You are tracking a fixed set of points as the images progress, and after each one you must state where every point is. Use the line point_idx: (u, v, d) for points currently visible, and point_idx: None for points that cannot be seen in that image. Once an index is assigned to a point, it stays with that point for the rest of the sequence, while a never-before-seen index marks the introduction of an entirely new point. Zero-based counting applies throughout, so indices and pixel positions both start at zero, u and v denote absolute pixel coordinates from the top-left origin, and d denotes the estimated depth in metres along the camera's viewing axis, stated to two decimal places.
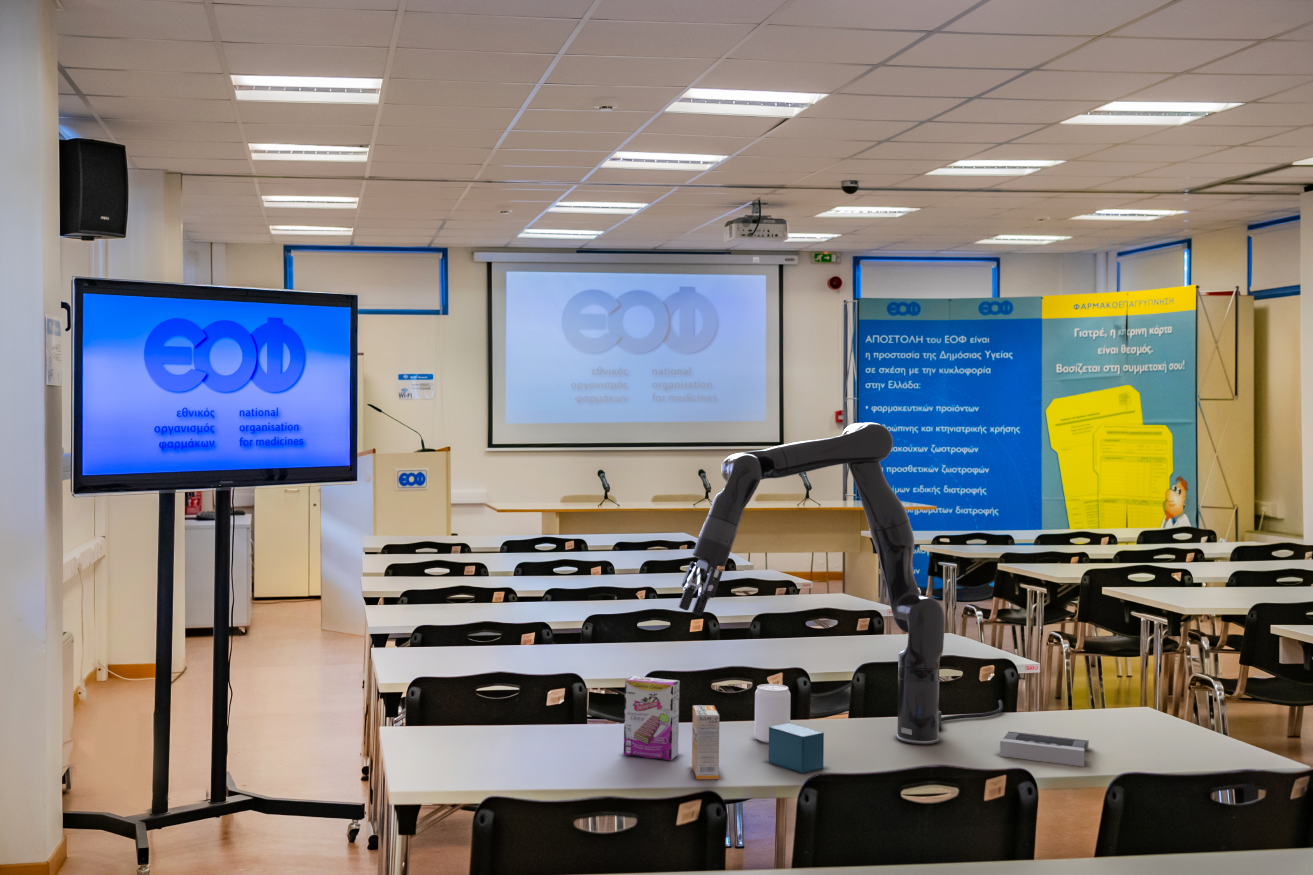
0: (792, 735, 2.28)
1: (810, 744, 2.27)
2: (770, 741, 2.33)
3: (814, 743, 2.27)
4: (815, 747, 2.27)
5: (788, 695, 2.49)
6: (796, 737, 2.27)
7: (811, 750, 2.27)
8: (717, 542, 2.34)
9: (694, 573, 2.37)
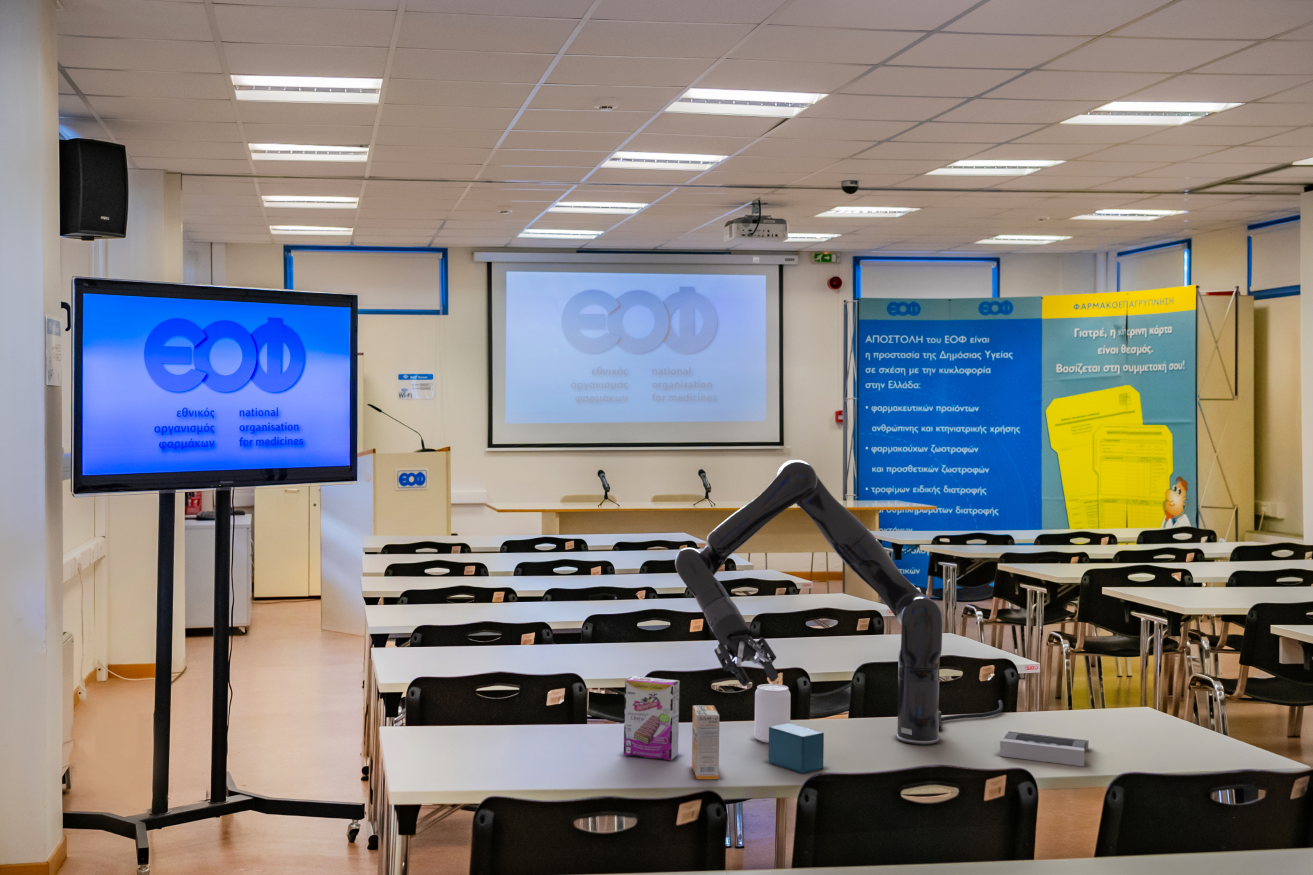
0: (792, 735, 2.28)
1: (810, 744, 2.27)
2: (770, 741, 2.33)
3: (814, 743, 2.27)
4: (815, 747, 2.27)
5: (788, 695, 2.49)
6: (796, 737, 2.27)
7: (811, 750, 2.27)
8: (713, 627, 2.46)
9: None
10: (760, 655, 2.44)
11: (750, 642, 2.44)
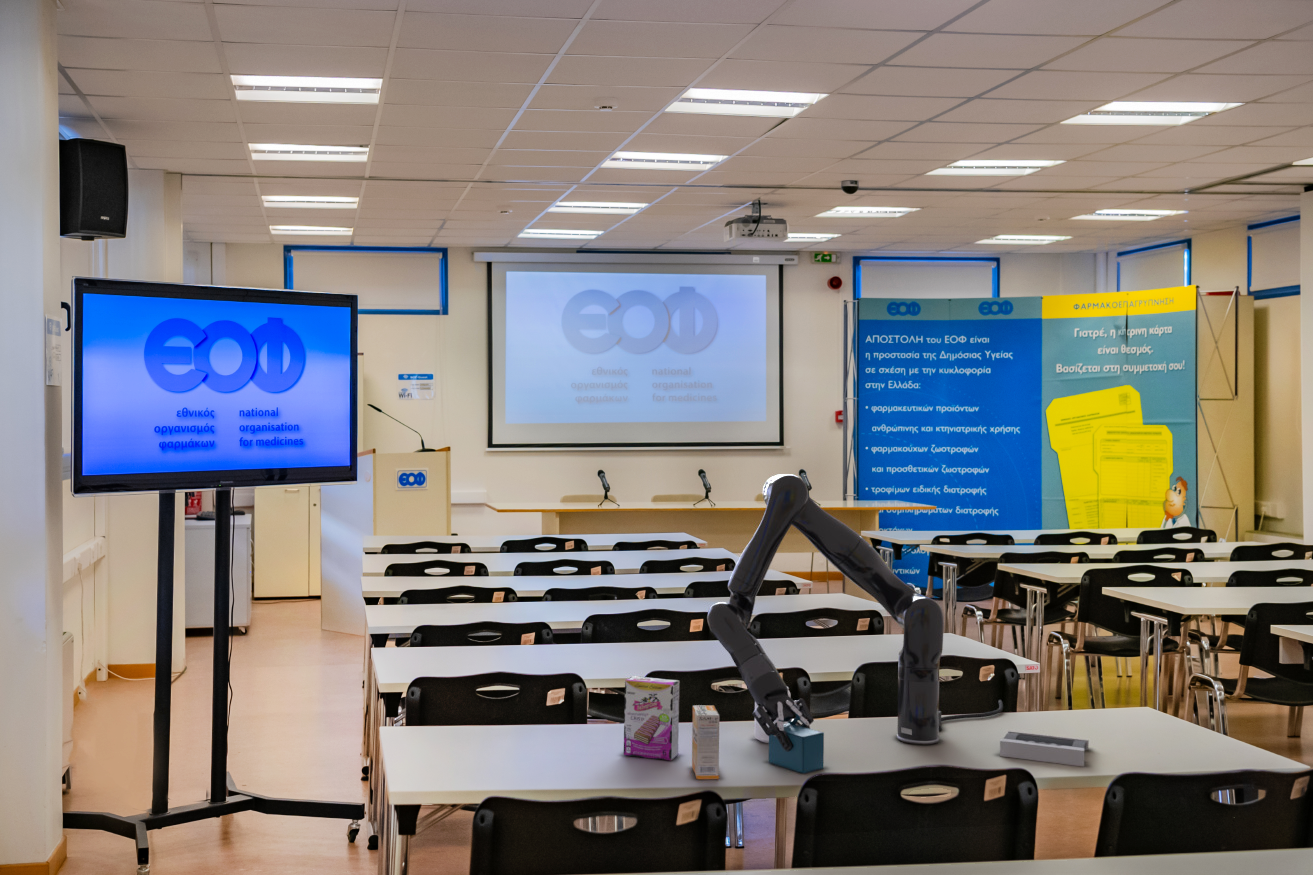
0: (792, 735, 2.28)
1: (810, 744, 2.27)
2: (770, 741, 2.33)
3: (814, 743, 2.27)
4: (815, 747, 2.27)
5: (788, 695, 2.49)
6: (796, 737, 2.27)
7: (811, 750, 2.27)
8: (749, 686, 2.37)
9: None
10: (797, 717, 2.34)
11: (788, 702, 2.35)
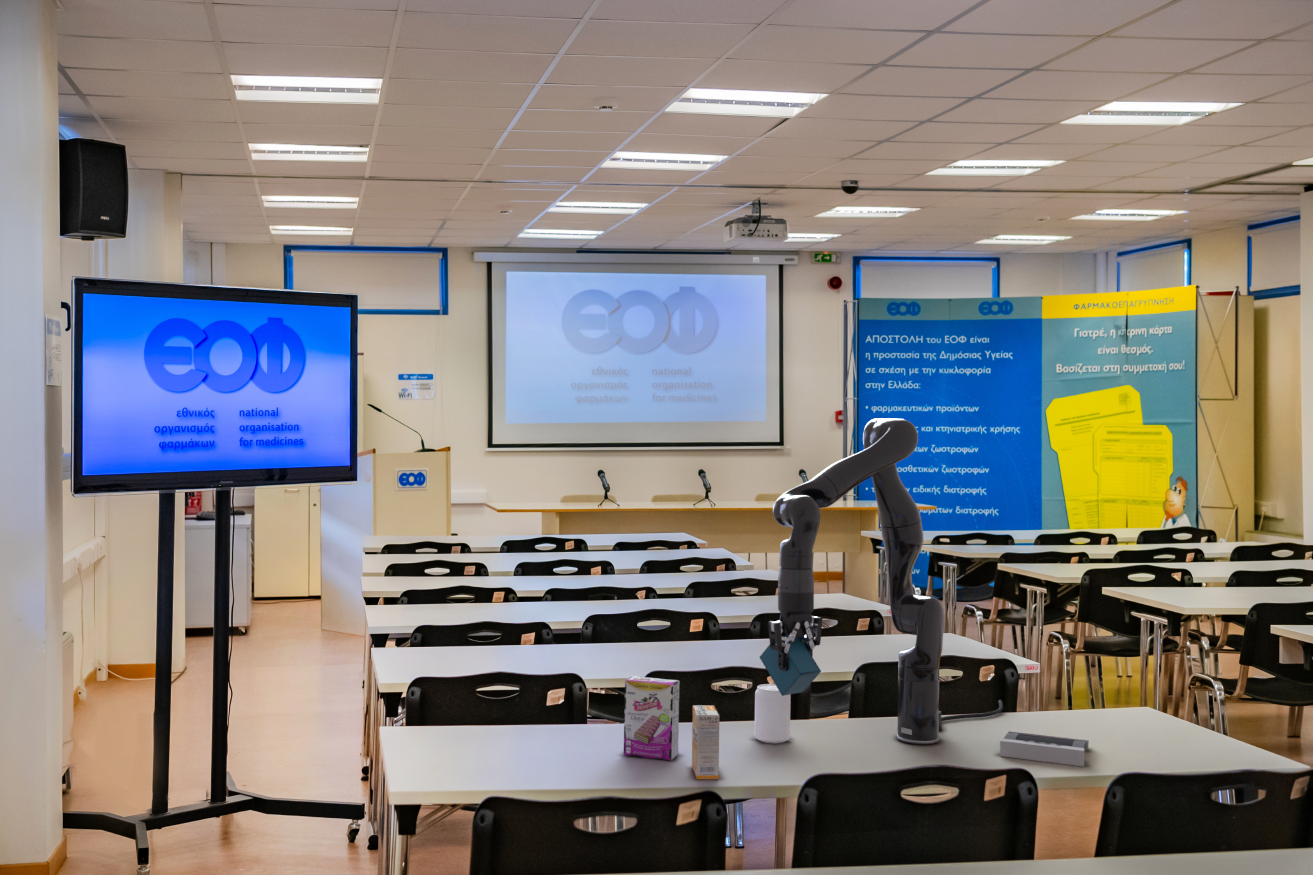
0: (792, 663, 2.28)
1: (803, 679, 2.29)
2: None
3: (807, 678, 2.29)
4: (806, 680, 2.30)
5: (788, 695, 2.49)
6: (794, 668, 2.28)
7: (801, 682, 2.29)
8: (780, 591, 2.30)
9: None
10: (807, 639, 2.32)
11: (806, 624, 2.31)
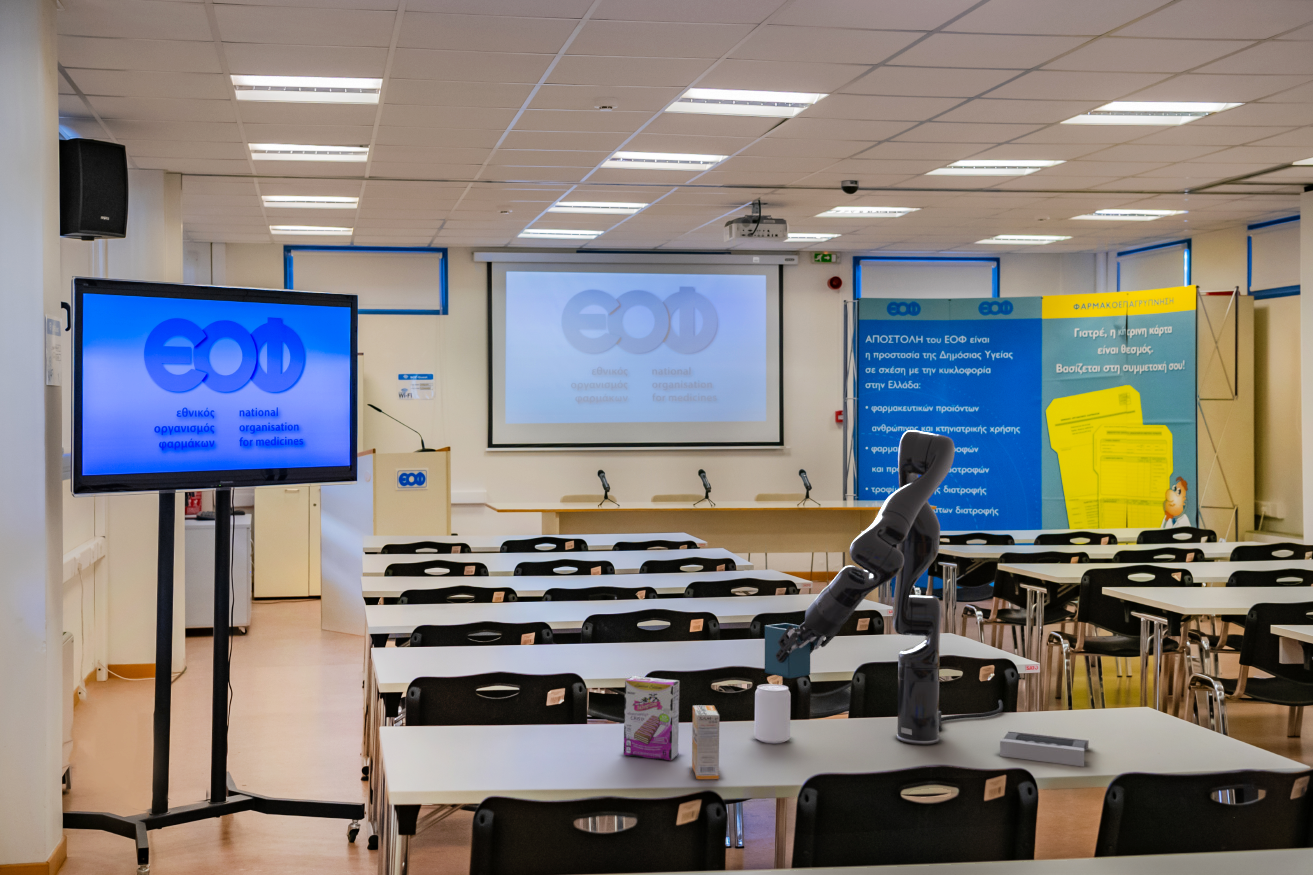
0: (788, 663, 2.29)
1: None
2: (779, 630, 2.31)
3: None
4: None
5: (788, 695, 2.49)
6: (787, 668, 2.29)
7: None
8: (816, 607, 2.22)
9: None
10: (815, 643, 2.30)
11: (822, 637, 2.27)
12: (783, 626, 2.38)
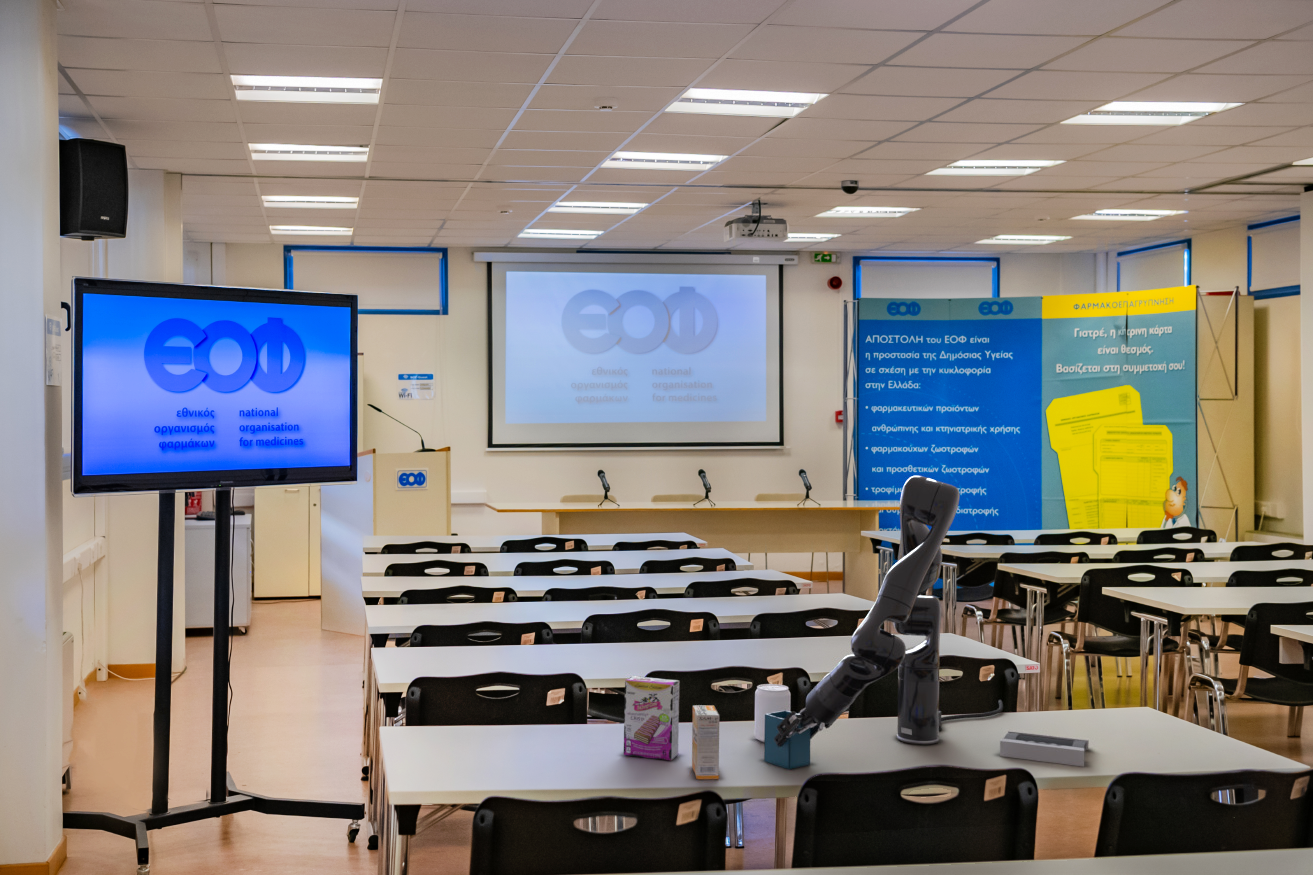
0: (788, 754, 2.28)
1: None
2: (779, 720, 2.30)
3: None
4: None
5: (788, 695, 2.49)
6: (787, 759, 2.28)
7: None
8: (817, 695, 2.22)
9: None
10: (818, 726, 2.30)
11: (822, 722, 2.27)
12: (783, 713, 2.37)
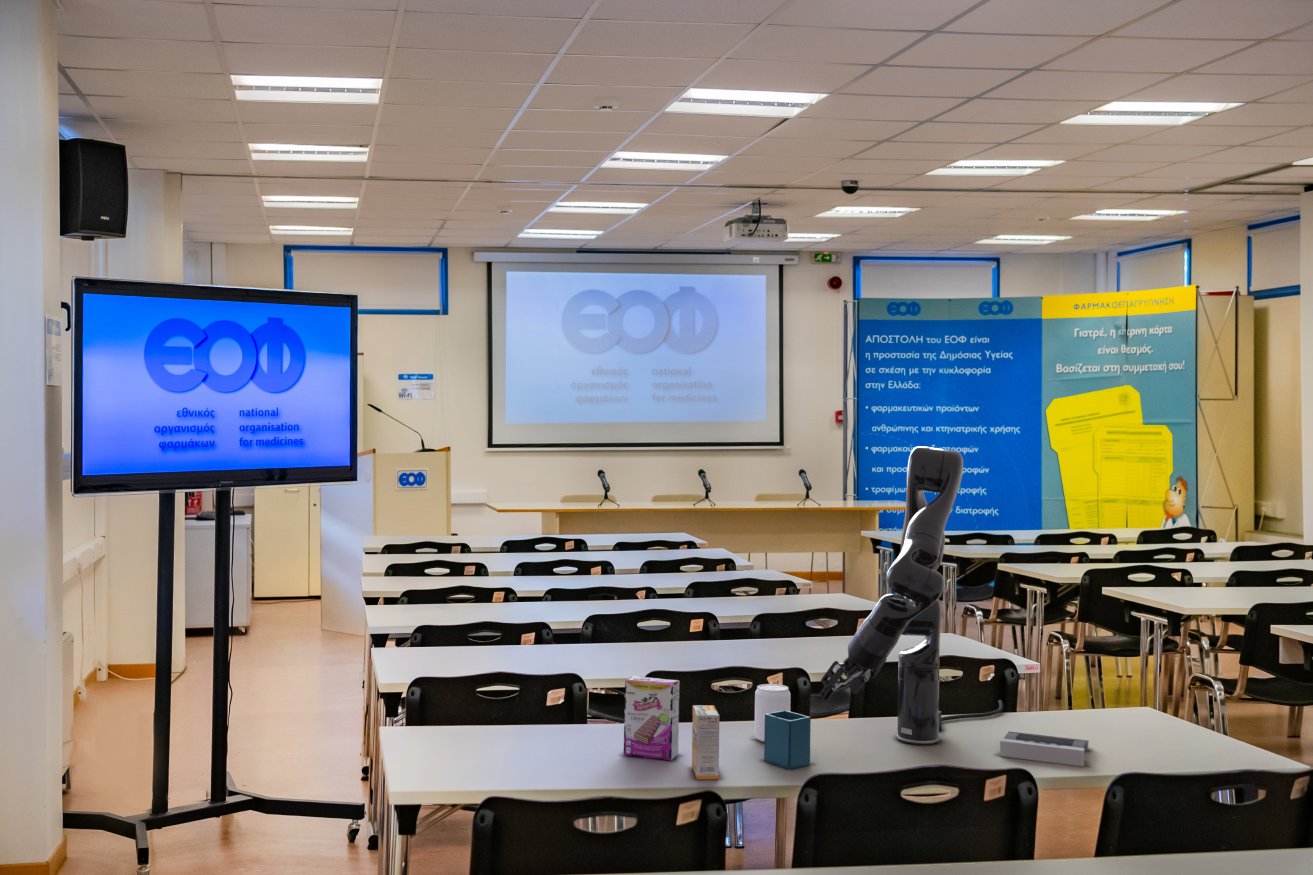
0: (788, 754, 2.28)
1: None
2: (779, 720, 2.30)
3: None
4: None
5: (788, 695, 2.49)
6: (787, 759, 2.28)
7: None
8: (858, 641, 2.14)
9: None
10: (863, 676, 2.22)
11: (868, 670, 2.19)
12: (783, 713, 2.37)
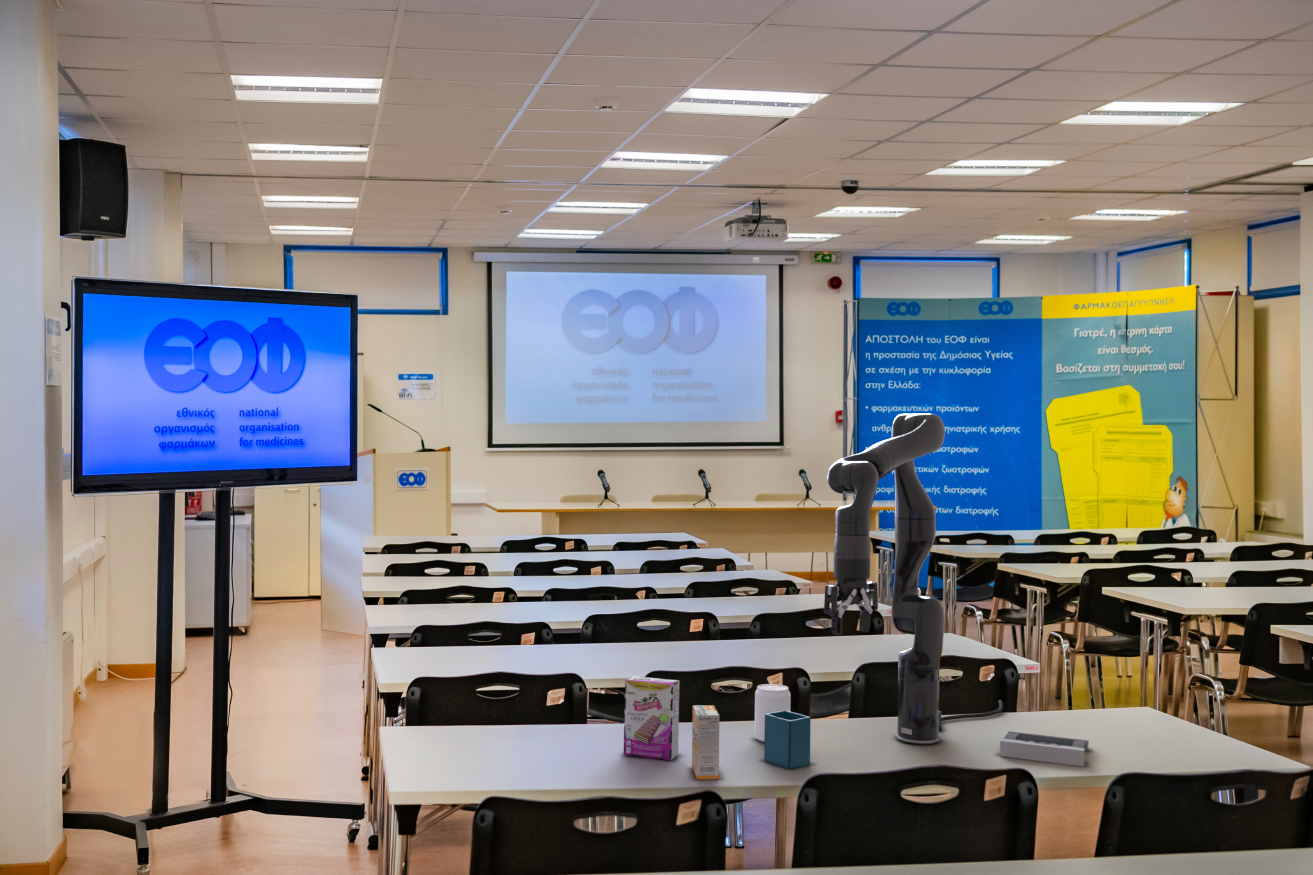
0: (788, 754, 2.28)
1: None
2: (779, 720, 2.30)
3: None
4: None
5: (788, 695, 2.49)
6: (787, 759, 2.28)
7: None
8: (837, 558, 2.29)
9: None
10: (864, 605, 2.31)
11: (862, 591, 2.30)
12: (783, 713, 2.37)
